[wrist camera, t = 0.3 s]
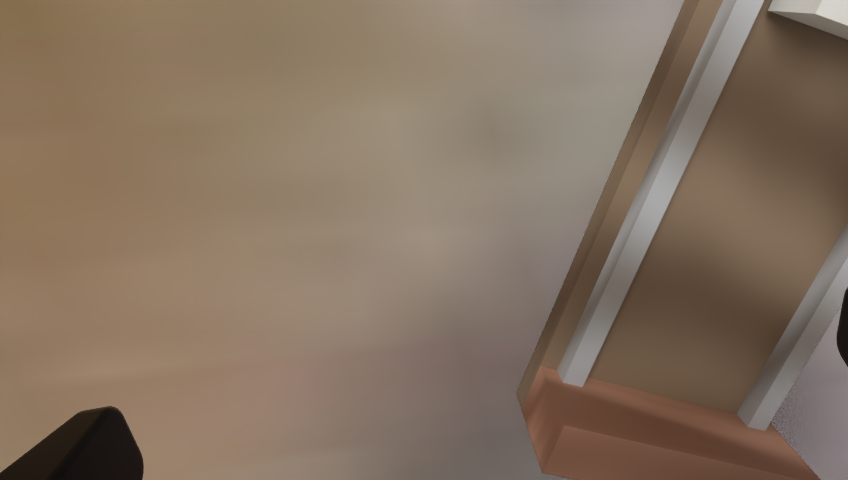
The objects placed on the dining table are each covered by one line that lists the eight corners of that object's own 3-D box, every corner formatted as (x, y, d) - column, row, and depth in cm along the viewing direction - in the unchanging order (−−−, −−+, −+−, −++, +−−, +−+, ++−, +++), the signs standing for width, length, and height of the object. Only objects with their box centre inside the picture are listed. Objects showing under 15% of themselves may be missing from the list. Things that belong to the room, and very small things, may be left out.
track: (733, 443, 27) (796, 527, 23) (516, 393, 26) (542, 472, 22) (1102, -182, 19) (1301, -228, 15) (819, -315, 18) (956, -408, 13)
